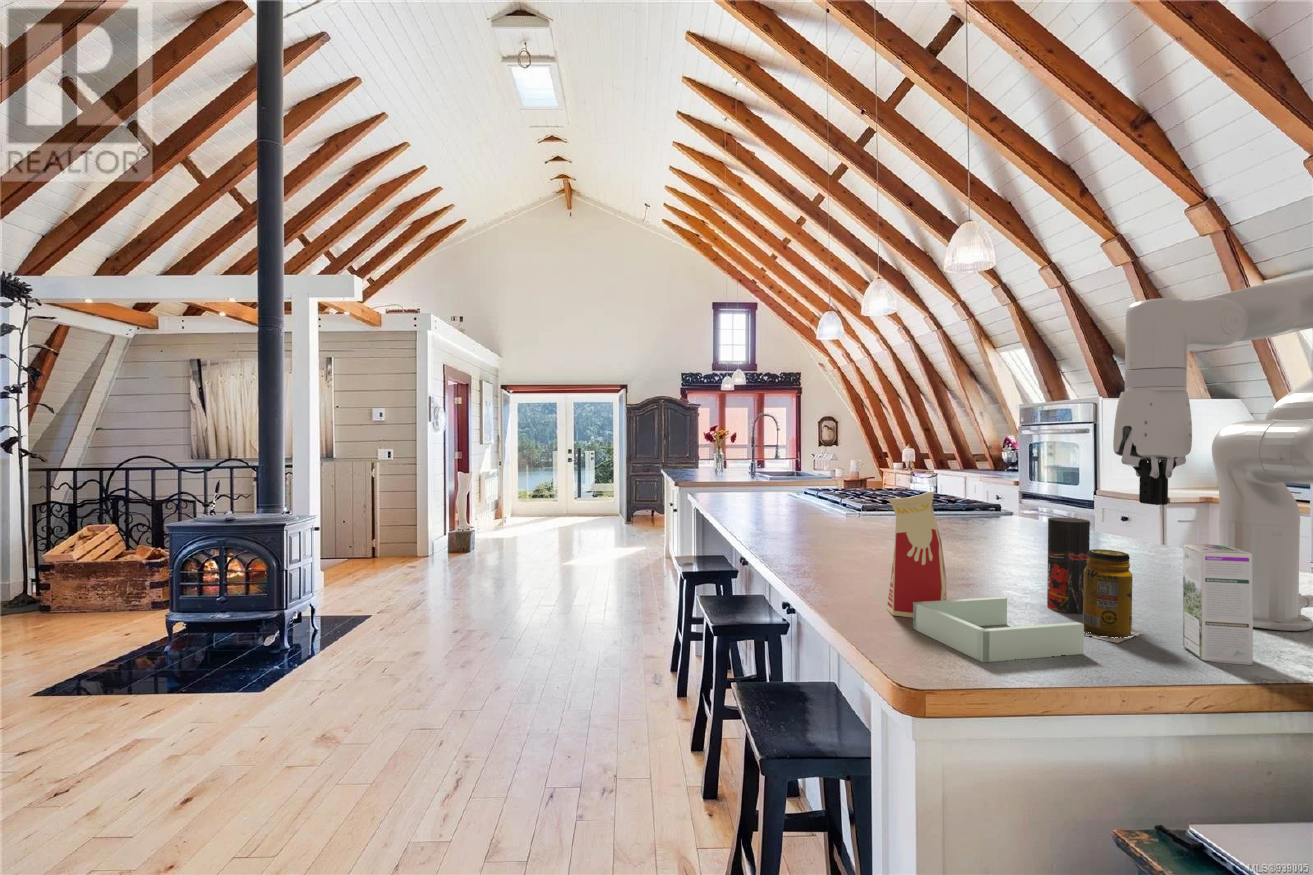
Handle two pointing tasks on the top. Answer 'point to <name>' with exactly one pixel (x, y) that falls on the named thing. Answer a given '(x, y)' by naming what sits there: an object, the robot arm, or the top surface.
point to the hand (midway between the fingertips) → (1153, 503)
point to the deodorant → (1067, 563)
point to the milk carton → (916, 556)
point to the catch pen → (993, 631)
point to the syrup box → (1218, 603)
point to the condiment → (1108, 595)
